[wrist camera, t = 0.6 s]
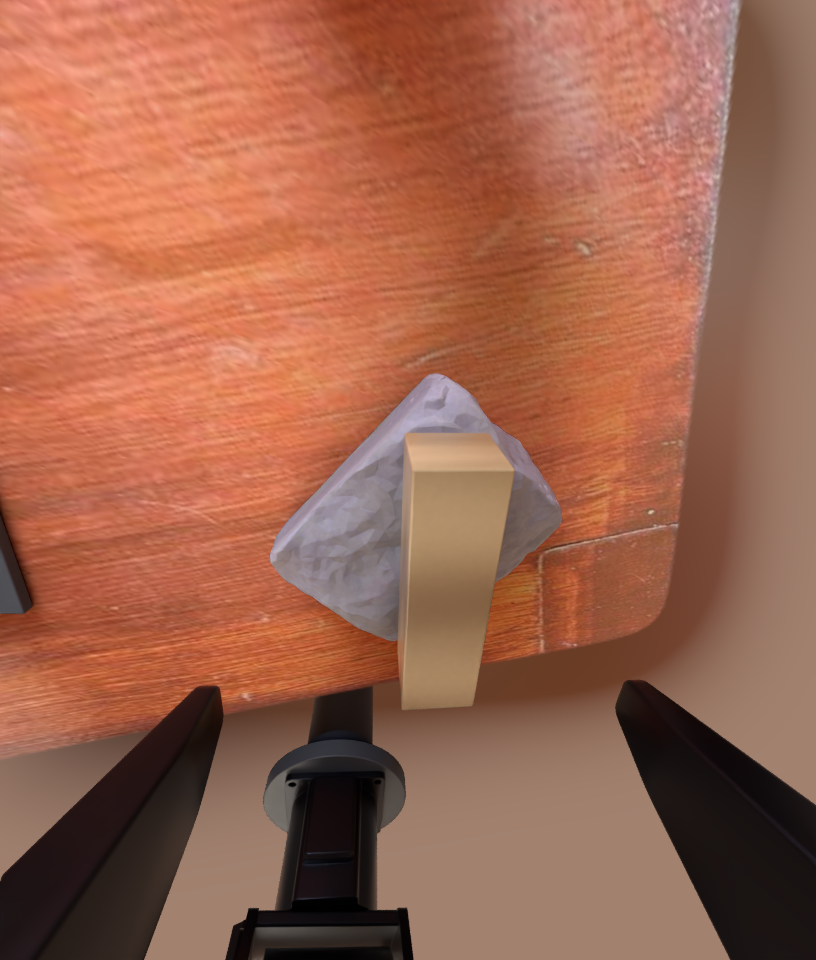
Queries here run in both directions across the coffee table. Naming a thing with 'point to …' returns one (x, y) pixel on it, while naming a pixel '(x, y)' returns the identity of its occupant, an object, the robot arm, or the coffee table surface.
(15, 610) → the grey mat
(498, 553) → the maple bar
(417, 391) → the stone block
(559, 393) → the coffee table surface
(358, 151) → the coffee table surface
